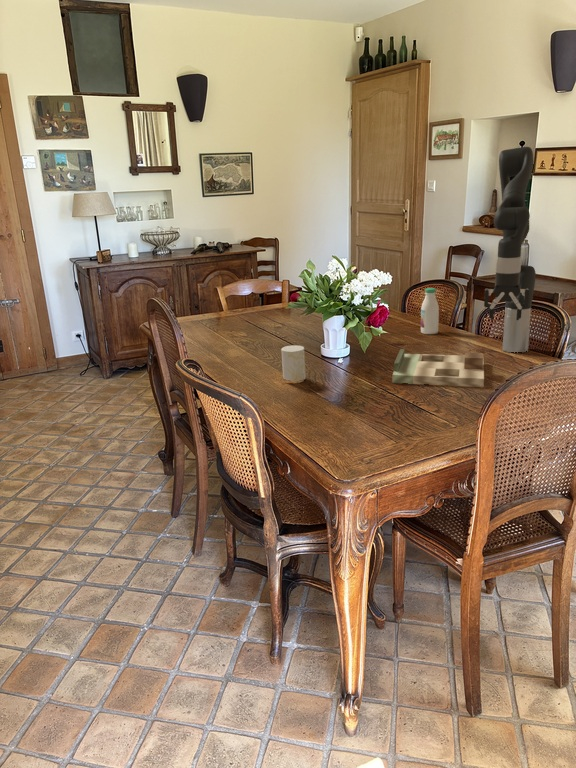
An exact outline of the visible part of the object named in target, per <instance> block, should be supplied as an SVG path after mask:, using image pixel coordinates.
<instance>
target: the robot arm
mask: <svg viewBox="0 0 576 768" xmlns="http://www.w3.org/2000/svg"><path fill="white" fill-rule="evenodd" d="M533 167H534V153H533V150H532V148H531V147H530V146H522V147H516V148H515V147H514V148H509V149H508V148H507V149H504V150H501V151H500V152H499V157H498V169H499V170H498V171H499V179H500V190H501V203H500V205H499V207H497V210H496V212H495V214H494V216H493V225H494V227H495V228H496V230H498V231H502V238H500V239H499V241H498V244H497V245H498V246H497V259H496V265H495V280H494V281H495V282H494V288H487V287H486V288H485V289H484V301H483V302H484V303H483V307H484V308H488V309H489V314H488V315H489V316H488V317H489V319H490V320H491V321H494V316H495V315H494V314H495V307H496V305H497V304H498V303H499V302H501V303H505V308H504V324H503V339H502V351H504V352H507V353H511V352H514V354H515V352H517V353H516V354H519V353H518V352H522V353H528V352H529V342H530V331H531V330H530V322H531V310H532V302H533V298H534V292H535V291H534V290H535V284H536V269H535V268H534V267H533V265H532V266H531V265H525V264H524V265H523V264H522V263H521V256H522V246H523V243H524V241H525V240H526V238H527V237H528V234H529V232H530V217H531V216H530V211H529V208H528V207H527V205H526V203H525V202H526V196H527V195H526V193H527V188H528V185H529V182H530V178H531V177H532V176H531V175H532V172H533ZM511 177H513V178H512V179H511ZM492 293H493V294H494V296H495V298H494V299H493V300H492V302H491V303H489V296H490V297H491V295H492ZM526 351H527V352H526Z"/></svg>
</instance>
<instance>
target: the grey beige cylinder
mask: <svg viewBox="0 0 576 768" xmlns="http://www.w3.org/2000/svg"><path fill="white" fill-rule="evenodd" d="M280 352H281V365H282V379H283V378H284V379H286V380H291V381H299V380H303V379H305V378H307V377H306V362H305V361H306V358H305V357H306V356H305V346H303V345H296V344H295V345H286V346H283V347H282V348H281V351H280Z"/></svg>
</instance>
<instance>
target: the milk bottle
mask: <svg viewBox="0 0 576 768" xmlns="http://www.w3.org/2000/svg"><path fill="white" fill-rule="evenodd" d="M436 293H437V288H434V287H426V288H425V289H424V294H425V296H424V299H423V301H422V303H421V308H420V333H422V334H423V335H424V334H425V335H436V334H438V333H439V319H440V315H439V312H440V308H439V302H438V301H437V298H436Z"/></svg>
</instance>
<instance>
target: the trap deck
mask: <svg viewBox="0 0 576 768" xmlns="http://www.w3.org/2000/svg"><path fill="white" fill-rule="evenodd" d="M484 358H485V357H484V355H483V366H482V369H464V362H465V355H460V354H459V355H457V354H456V355H454V354H453V355H452V354H430V353H429V354H427V353H425V354H424V353H422V354H421V353H420V354H419V353H405V348H400V349H399V352H398V353H397V356H396V358H395V360H394V363H393V373H392V379H391V380H392V384H402V383H408V384H407V385H409V384H410V385H424V384H429V385H428V386H445V385H448V386H451V387H468V388H470V387H472V388H474V387H475V388H484V387H485V385H484V384H485V366H484V364H485V363H484V361H485V359H484ZM448 386H447V387H448Z"/></svg>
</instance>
